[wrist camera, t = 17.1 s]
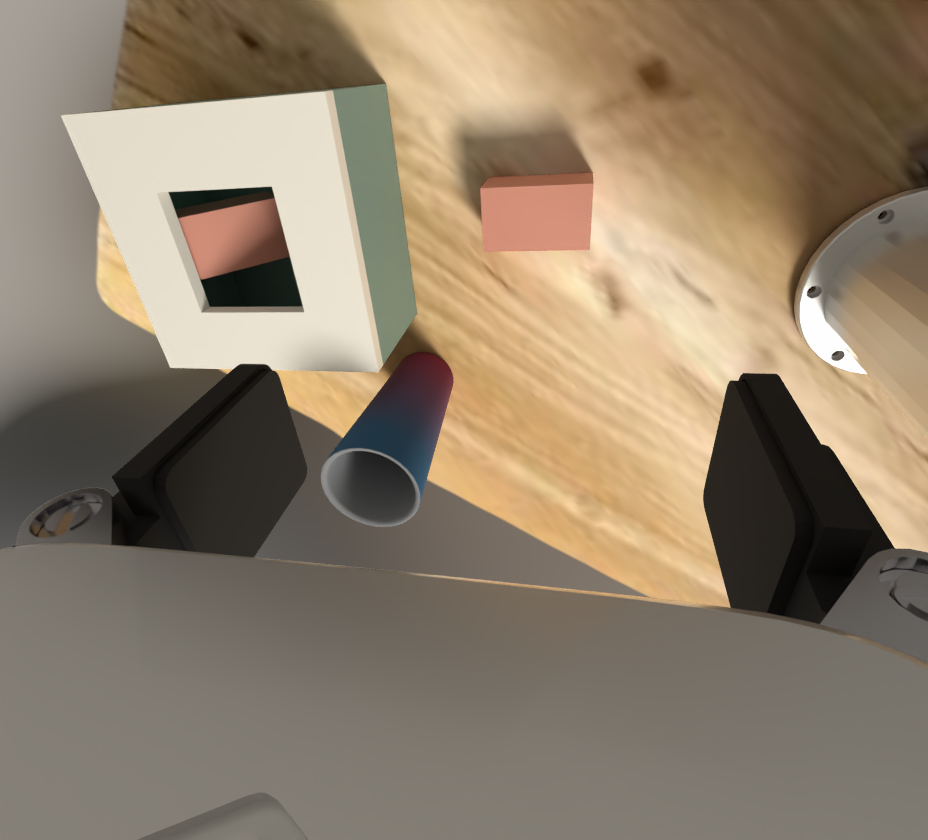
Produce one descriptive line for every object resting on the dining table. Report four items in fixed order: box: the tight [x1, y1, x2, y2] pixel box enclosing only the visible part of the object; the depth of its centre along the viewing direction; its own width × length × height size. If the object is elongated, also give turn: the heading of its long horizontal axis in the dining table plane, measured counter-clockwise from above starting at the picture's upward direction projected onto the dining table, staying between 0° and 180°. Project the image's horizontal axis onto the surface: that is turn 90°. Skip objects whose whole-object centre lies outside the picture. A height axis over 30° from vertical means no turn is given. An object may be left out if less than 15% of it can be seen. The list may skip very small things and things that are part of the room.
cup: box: [321, 352, 453, 527], centre depth 41 cm, size 7×7×15 cm
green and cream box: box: [61, 84, 417, 372], centre depth 37 cm, size 16×16×10 cm
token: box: [480, 172, 593, 252], centre depth 36 cm, size 7×4×4 cm, turn 94°
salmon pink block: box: [175, 191, 290, 280], centre depth 38 cm, size 4×4×7 cm
